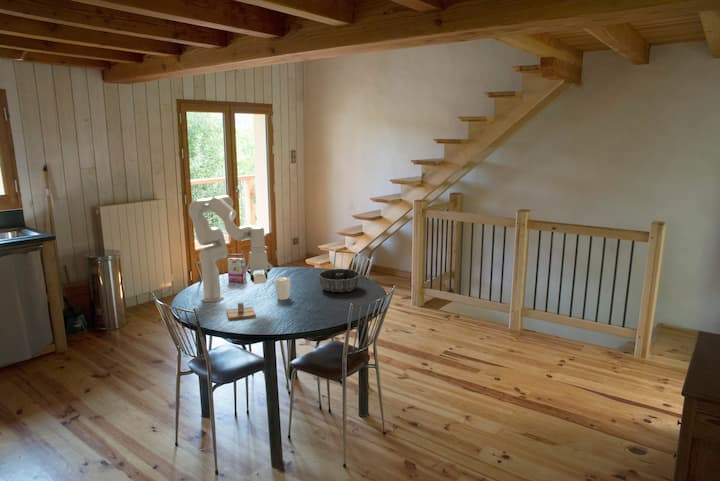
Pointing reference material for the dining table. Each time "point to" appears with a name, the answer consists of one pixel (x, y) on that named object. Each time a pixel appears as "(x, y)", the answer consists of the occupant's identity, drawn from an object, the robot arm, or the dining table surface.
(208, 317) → the dining table surface
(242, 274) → the candy bar box
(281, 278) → the cup
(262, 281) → the knob
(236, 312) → the shaft block
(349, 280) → the bundt pan
